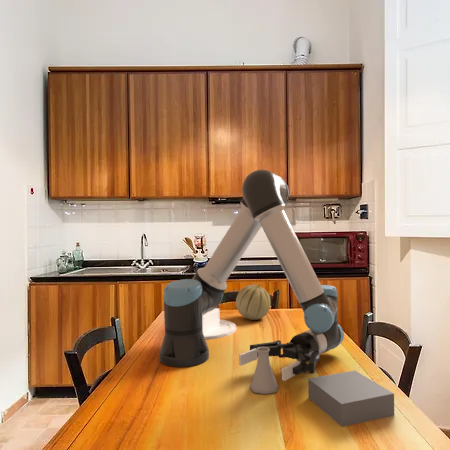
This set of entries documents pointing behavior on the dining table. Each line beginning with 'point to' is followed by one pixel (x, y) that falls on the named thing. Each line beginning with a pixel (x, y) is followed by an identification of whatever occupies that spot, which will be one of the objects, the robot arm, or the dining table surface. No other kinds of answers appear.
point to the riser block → (350, 397)
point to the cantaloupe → (253, 302)
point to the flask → (263, 374)
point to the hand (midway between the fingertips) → (260, 367)
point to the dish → (216, 325)
